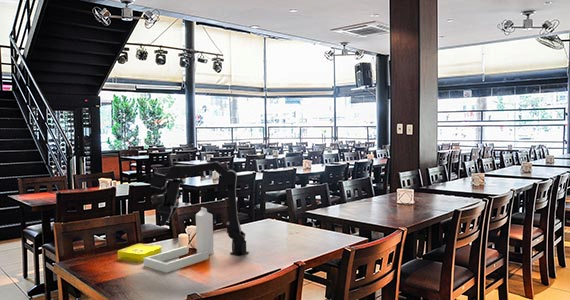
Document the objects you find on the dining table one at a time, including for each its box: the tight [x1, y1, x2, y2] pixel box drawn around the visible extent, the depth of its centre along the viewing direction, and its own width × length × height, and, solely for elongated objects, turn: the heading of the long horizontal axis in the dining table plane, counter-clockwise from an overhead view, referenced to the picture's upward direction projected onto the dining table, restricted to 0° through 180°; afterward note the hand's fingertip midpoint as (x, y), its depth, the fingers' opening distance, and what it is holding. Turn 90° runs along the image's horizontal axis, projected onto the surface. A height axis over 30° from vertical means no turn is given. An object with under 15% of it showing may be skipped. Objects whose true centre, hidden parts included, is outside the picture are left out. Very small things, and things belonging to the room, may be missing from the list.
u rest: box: [143, 245, 210, 274], centre depth 197 cm, size 16×24×4 cm
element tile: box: [117, 243, 162, 263], centre depth 207 cm, size 15×15×5 cm
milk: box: [195, 207, 214, 255], centre depth 210 cm, size 6×6×22 cm
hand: (164, 223), depth 207 cm, fingers open, 9 cm apart
